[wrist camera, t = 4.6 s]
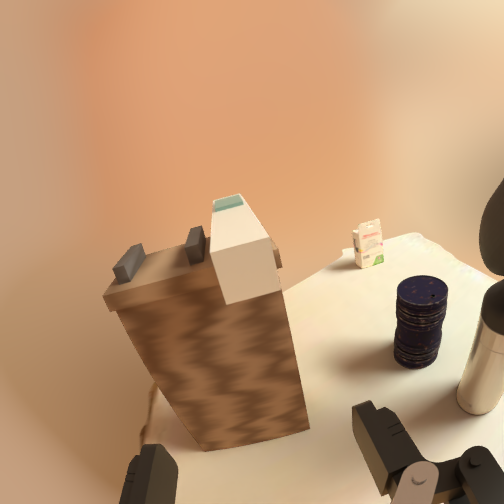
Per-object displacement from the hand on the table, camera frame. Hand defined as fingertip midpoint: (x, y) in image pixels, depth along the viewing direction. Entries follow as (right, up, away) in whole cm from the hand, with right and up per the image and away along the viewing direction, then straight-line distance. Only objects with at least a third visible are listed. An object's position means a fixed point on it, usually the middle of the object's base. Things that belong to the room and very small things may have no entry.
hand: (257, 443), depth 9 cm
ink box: (+38, +4, +77) cm, 86 cm away
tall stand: (0, -22, +34) cm, 40 cm away
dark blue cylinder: (+32, -12, +37) cm, 51 cm away
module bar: (-1, +8, +21) cm, 23 cm away
